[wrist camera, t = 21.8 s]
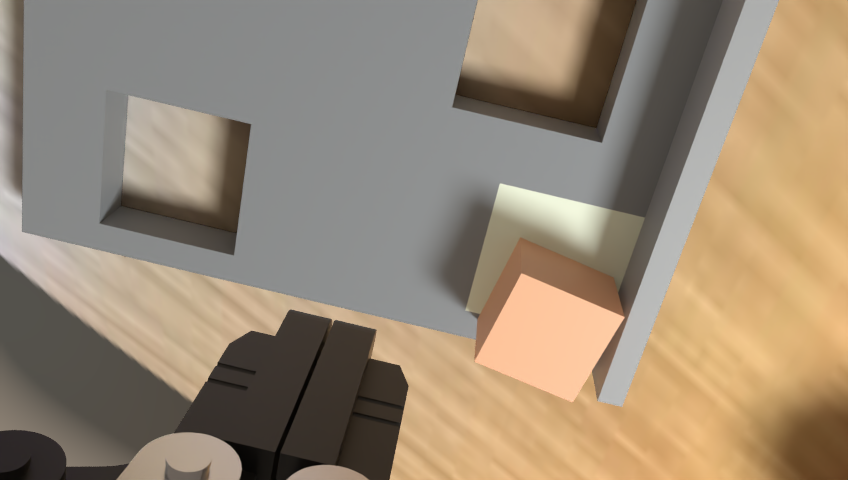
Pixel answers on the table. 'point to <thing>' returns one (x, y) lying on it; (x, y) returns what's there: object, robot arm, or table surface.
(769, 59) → the table surface
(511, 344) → the block
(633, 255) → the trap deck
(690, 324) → the table surface
